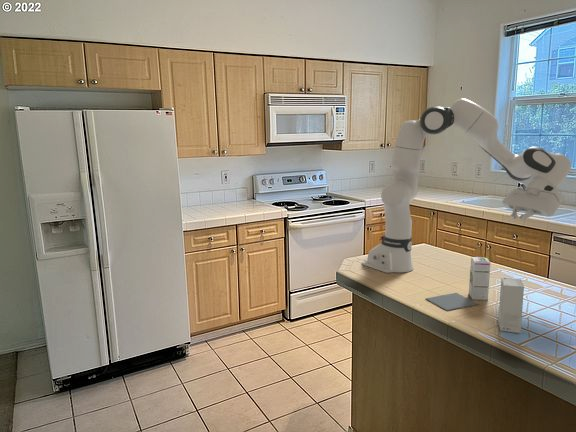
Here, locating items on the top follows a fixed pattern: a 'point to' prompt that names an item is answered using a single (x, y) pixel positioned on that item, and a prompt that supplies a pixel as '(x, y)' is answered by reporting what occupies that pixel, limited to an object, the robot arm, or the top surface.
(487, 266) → the syrup box
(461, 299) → the mat
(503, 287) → the skincare box
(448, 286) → the top surface
